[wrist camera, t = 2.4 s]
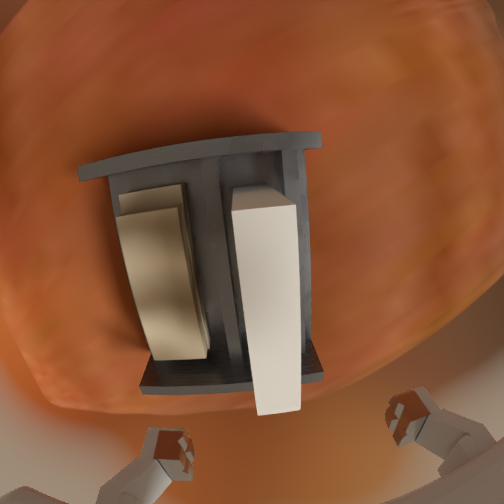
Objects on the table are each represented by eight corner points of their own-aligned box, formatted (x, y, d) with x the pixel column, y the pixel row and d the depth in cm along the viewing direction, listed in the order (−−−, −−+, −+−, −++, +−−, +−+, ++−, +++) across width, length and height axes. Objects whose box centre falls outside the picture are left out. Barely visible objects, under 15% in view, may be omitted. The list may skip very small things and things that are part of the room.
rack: (112, 163, 24) (77, 166, 18) (299, 138, 25) (320, 131, 18) (156, 354, 31) (142, 394, 25) (307, 340, 32) (323, 380, 25)
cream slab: (233, 187, 24) (231, 210, 13) (267, 184, 24) (295, 204, 13) (249, 326, 29) (257, 415, 17) (278, 322, 29) (300, 409, 17)
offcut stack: (126, 192, 24) (108, 198, 20) (184, 182, 24) (175, 186, 20) (160, 340, 29) (152, 363, 25) (210, 337, 29) (208, 361, 25)
